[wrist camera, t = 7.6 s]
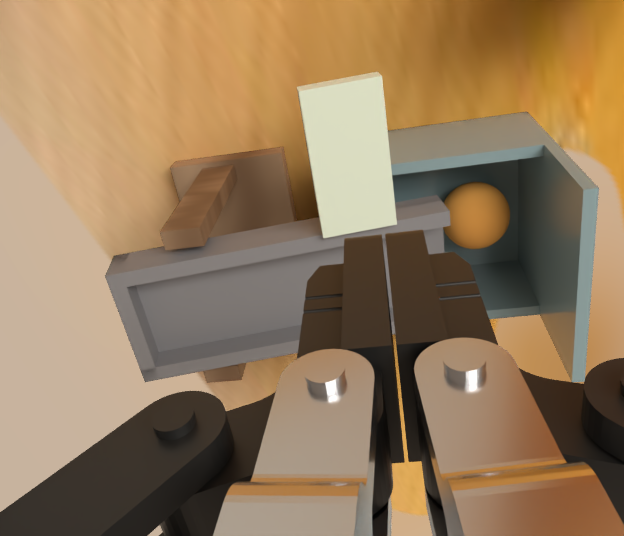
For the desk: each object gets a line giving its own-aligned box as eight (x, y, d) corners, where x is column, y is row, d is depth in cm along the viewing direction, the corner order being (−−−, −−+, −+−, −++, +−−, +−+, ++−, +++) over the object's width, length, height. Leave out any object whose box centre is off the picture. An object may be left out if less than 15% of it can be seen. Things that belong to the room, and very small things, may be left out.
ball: (438, 260, 36) (508, 261, 34) (434, 199, 34) (508, 197, 32) (446, 230, 39) (511, 230, 37) (443, 172, 37) (511, 170, 36)
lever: (150, 357, 34) (143, 386, 32) (65, 122, 27) (49, 137, 25) (443, 301, 34) (458, 326, 32) (427, 54, 28) (444, 64, 25)
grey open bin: (372, 279, 41) (376, 396, 31) (353, 135, 36) (351, 217, 26) (525, 263, 40) (584, 381, 29) (527, 111, 35) (598, 187, 24)
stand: (212, 294, 43) (174, 389, 34) (175, 161, 38) (118, 231, 29) (309, 284, 42) (295, 379, 33) (283, 146, 37) (259, 214, 28)
